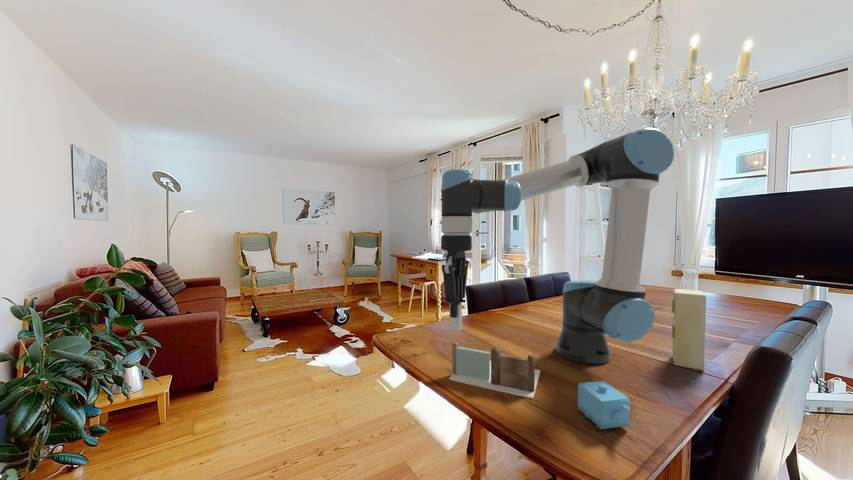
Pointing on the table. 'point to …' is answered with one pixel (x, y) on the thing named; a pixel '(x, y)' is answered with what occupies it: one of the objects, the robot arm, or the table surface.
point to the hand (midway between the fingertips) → (455, 328)
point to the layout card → (496, 387)
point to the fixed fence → (512, 370)
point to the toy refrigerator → (689, 328)
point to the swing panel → (470, 362)
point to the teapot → (603, 404)
